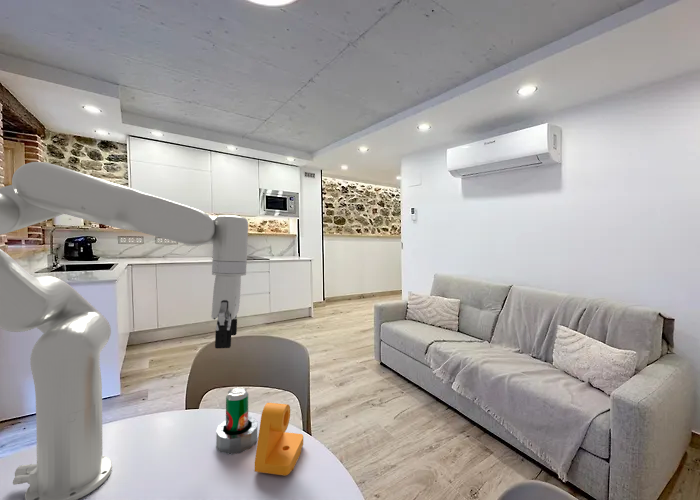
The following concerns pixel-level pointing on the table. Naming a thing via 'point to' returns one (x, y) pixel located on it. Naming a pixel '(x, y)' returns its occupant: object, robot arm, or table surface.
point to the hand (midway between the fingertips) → (226, 341)
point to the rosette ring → (236, 438)
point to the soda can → (237, 411)
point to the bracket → (277, 441)
